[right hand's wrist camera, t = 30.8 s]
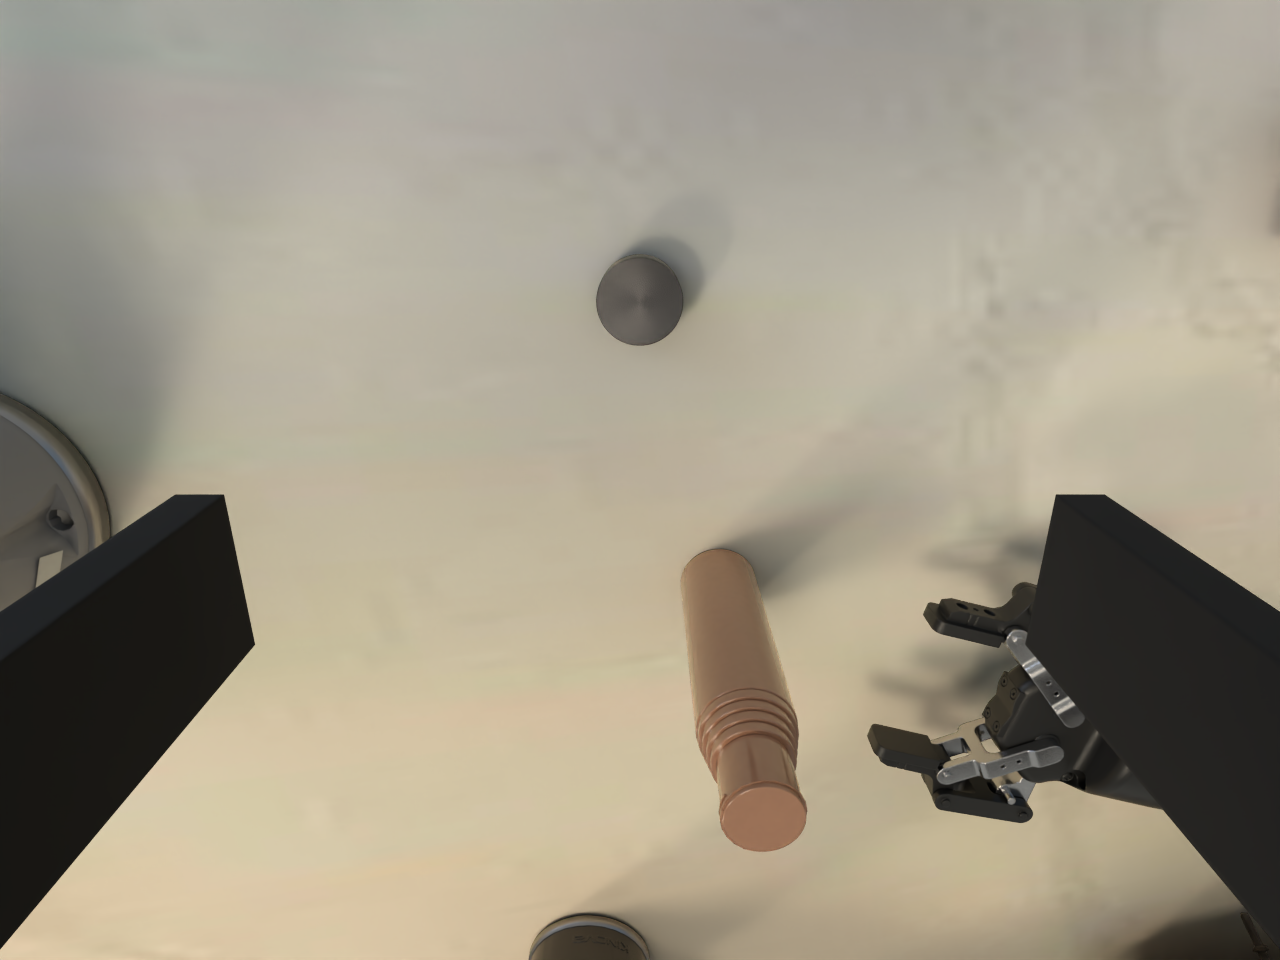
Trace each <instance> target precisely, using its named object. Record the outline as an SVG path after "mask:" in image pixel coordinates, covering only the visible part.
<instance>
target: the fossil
mask: <svg viewBox="0 0 1280 960" xmlns="http://www.w3.org/2000/svg"><path fill="white" fill-rule="evenodd" d="M1241 918H1242V920H1243V922H1244V924H1245V927H1246V929H1247V931H1248V933H1249V935H1250V937H1251V939H1252V941H1253V943H1254V945H1255V946H1254V948H1253V951H1254V952H1257V953H1258V954H1259V956H1260V958H1261V960H1269V958H1268V955H1267V953H1266V952H1267V951H1268V950H1269V949H1268V947H1267V946H1263V944H1262V941H1261V939H1260V937H1259V935H1258V933H1257V931H1256V929H1255V927H1254V925H1253V923H1252V921H1251V919H1250V917H1249V915H1248V913H1241Z"/></svg>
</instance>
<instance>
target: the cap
mask: <svg viewBox="0 0 1280 960" xmlns="http://www.w3.org/2000/svg"><path fill="white" fill-rule="evenodd" d="M596 303H597V311H598V315H599V318H600V320H601V322H602V324H603V326H604V327H605V328H606V330H607V331H608V332H609V333H610V334H611V335H612V336H613V337H615V338H616V339H618V340H620V341H622V342H624V343H627V344H631V345H638V346H639V345H649V344H653V343H655V342H658V341H660V340H661V339H663V338H665V337H666V336H667V335H668V334H669V333H670V332H671V331H672V330H673V329H674V328H675V326H676V325H677V323H678V321H679V319H680V316H681V313H682V308H683V295H682V290H681V287H680V284H679V282H678V279H677V277H676V275H675V274H674V272H673V271H672V269H671V268H670V267H669V266H668V265H667V264H666V263H664V262H663V261H661V260H660V259H658V258H656V257H653V256H650V255H644V254H635V255H629V256H626V257H624V258H622V259H620V260H618V261H616V262H615V263H614V264H613V265H611V267H610V268H609V269H608V270H607V271H606V273H605V274H604V276H603V278H602V280H601V283H600V285H599V288H598V292H597V299H596Z"/></svg>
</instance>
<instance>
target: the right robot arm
mask: <svg viewBox="0 0 1280 960" xmlns="http://www.w3.org/2000/svg"><path fill="white" fill-rule="evenodd" d="M254 645H255V642H254V637H253V632H252V628H251V623H250V618H249V613H248V608H247V603H246V599H245V594H244V589H243V584H242V579H241V574H240V570H239V565H238V560H237V555H236V550H235V545H234V541H233V536H232V531H231V526H230V521H229V516H228V512H227V507H226V502H225V497H224V495H174V496H173V497H171V498H170V499H168V500H167V501H165V502H164V503H162V504H161V505H159V506H158V507H156V508H155V509H153V510H152V511H150V512H149V513H147V514H146V515H144V516H143V517H141V518H140V519H138V520H137V521H135V522H134V523H132V524H131V525H129V526H128V527H126V528H125V529H123V530H122V531H120V532H119V533H117V534H116V535H114V536H113V537H111V538H110V524H109V515H108V510H107V506H106V502H105V499H104V496H103V493H102V491H101V488H100V486H99V484H98V481H97V479H96V478H95V476H94V474H93V472H92V470H91V469H90V467H89V466H88V464H87V463H86V461H85V459H84V458H83V457H82V455H81V454H80V453H79V452H78V450H77V449H76V448H75V447H74V446H73V444H72V443H71V442H70V441H69V440H68V439H67V438H66V437H65V436H64V435H63V434H62V433H61V432H60V431H59V430H58V429H57V428H55V427H54V426H53V425H52V424H51V423H49V422H48V421H47V420H46V419H44V418H43V417H42V416H40V415H39V414H37V413H36V412H34V411H33V410H31V409H30V408H28V407H26V406H24V405H23V404H21V403H19V402H17V401H15V400H13V399H11V398H9V397H7V396H5V395H2V394H0V949H1V948H2V947H3V945H4V944H5V943H6V942H7V941H8V939H9V938H10V937H11V936H12V935H13V933H14V932H15V931H16V930H17V929H18V927H19V926H20V925H21V924H22V923H23V922H24V920H25V919H26V918H27V917H28V916H29V914H30V913H31V912H32V911H33V910H34V908H35V907H36V906H37V905H38V904H39V902H40V901H41V900H42V899H43V898H44V896H45V895H46V894H47V893H48V892H49V890H50V889H51V888H52V887H53V886H54V884H55V883H56V882H57V881H58V880H59V878H60V877H61V876H62V875H63V874H64V872H65V871H66V870H67V869H68V868H69V866H70V865H71V864H72V863H73V862H74V861H75V859H76V858H77V857H78V856H79V855H80V853H81V852H82V851H83V850H84V849H85V847H86V846H87V845H88V844H89V843H90V841H91V840H92V839H93V838H94V837H95V835H96V834H97V833H98V832H99V831H100V829H101V828H102V827H103V826H104V825H105V823H106V822H107V821H108V820H109V819H110V817H111V816H112V815H113V814H114V813H115V811H116V810H117V809H118V808H119V807H120V805H121V804H122V803H123V802H124V801H125V800H126V798H127V797H128V796H129V795H130V794H131V792H132V791H133V790H134V789H135V788H136V786H137V785H138V784H139V783H140V782H141V780H142V779H143V778H144V777H145V776H146V774H147V773H148V772H149V771H150V770H151V768H152V767H153V766H154V765H155V764H156V762H157V761H158V760H159V759H160V758H161V756H162V755H163V754H164V753H165V752H166V750H167V749H168V748H169V747H170V746H171V744H172V743H173V742H174V741H175V740H176V739H177V737H178V736H179V735H180V734H181V733H182V731H183V730H184V729H185V728H186V727H187V725H188V724H189V723H190V722H191V721H192V719H193V718H194V717H195V716H196V715H197V713H198V712H199V711H200V710H201V709H202V707H203V706H204V705H205V704H206V703H207V701H208V700H209V699H210V698H211V697H212V695H213V694H214V693H215V692H216V691H217V689H218V688H219V687H220V686H221V685H222V683H223V682H224V681H225V680H226V679H227V678H228V676H229V675H230V674H231V673H232V672H233V670H234V669H235V668H236V667H237V666H238V664H239V663H240V662H241V661H242V660H243V658H244V657H245V656H246V655H247V654H248V652H249V651H250V650H251V649H252V648H253V646H254ZM1025 645H1026V646H1027V648H1028V649H1029V650H1030V651H1031V652H1032V654H1033V655H1034V656H1035V657H1036V658H1037V660H1038V661H1039V662H1040V663H1041V664H1042V666H1043V667H1044V668H1045V669H1046V670H1047V672H1048V673H1049V674H1050V675H1051V676H1052V678H1053V679H1054V680H1055V681H1056V682H1057V683H1058V685H1059V686H1060V687H1061V688H1062V689H1063V691H1064V692H1065V693H1066V694H1067V695H1068V697H1069V698H1070V699H1071V700H1072V701H1073V703H1074V704H1075V705H1076V706H1077V707H1078V709H1079V710H1080V711H1081V712H1082V713H1083V715H1084V716H1085V717H1086V718H1087V719H1088V721H1089V722H1090V723H1091V724H1092V725H1093V727H1094V728H1095V729H1096V730H1097V731H1098V733H1099V734H1100V735H1101V736H1102V737H1103V739H1104V740H1105V741H1106V742H1107V743H1108V744H1109V746H1110V747H1111V748H1112V749H1113V750H1114V752H1115V753H1116V754H1117V755H1118V756H1119V758H1120V759H1121V760H1122V761H1123V762H1124V764H1125V765H1126V766H1127V767H1128V768H1129V770H1130V771H1131V772H1132V773H1133V774H1134V776H1135V777H1136V778H1137V779H1138V780H1139V782H1140V783H1141V784H1142V785H1143V786H1144V788H1145V789H1146V790H1147V791H1148V792H1149V794H1150V795H1151V796H1152V797H1153V798H1154V800H1155V801H1156V802H1157V803H1158V804H1159V805H1160V807H1161V808H1162V809H1163V810H1164V811H1165V813H1166V814H1167V815H1168V816H1169V817H1170V819H1171V820H1172V821H1173V822H1174V823H1175V825H1176V826H1177V827H1178V828H1179V829H1180V831H1181V832H1182V833H1183V834H1184V835H1185V837H1186V838H1187V839H1188V840H1189V841H1190V843H1191V844H1192V845H1193V846H1194V847H1195V849H1196V850H1197V851H1198V852H1199V853H1200V855H1201V856H1202V857H1203V858H1204V859H1205V861H1206V862H1207V863H1208V864H1209V865H1210V866H1211V868H1212V869H1213V870H1214V871H1215V872H1216V874H1217V875H1218V876H1219V877H1220V878H1221V880H1222V881H1223V882H1224V883H1225V884H1226V886H1227V887H1228V888H1229V889H1230V890H1231V892H1232V893H1233V894H1234V895H1235V896H1236V898H1237V899H1238V900H1239V901H1240V902H1241V904H1242V905H1243V906H1244V907H1245V908H1246V910H1247V911H1248V912H1249V913H1250V914H1251V916H1252V917H1253V918H1254V919H1255V920H1256V922H1257V923H1258V924H1259V925H1260V926H1261V927H1262V929H1263V930H1264V931H1265V932H1266V933H1267V935H1268V936H1269V937H1270V938H1271V939H1272V941H1273V942H1274V943H1275V944H1276V945H1277V947H1278V948H1279V949H1280V612H1279V611H1278V610H1276V609H1275V608H1273V607H1272V606H1270V605H1269V604H1267V603H1266V602H1265V601H1263V600H1262V599H1260V598H1259V597H1257V596H1256V595H1254V594H1253V593H1251V592H1250V591H1248V590H1247V589H1245V588H1244V587H1242V586H1241V585H1239V584H1238V583H1236V582H1235V581H1233V580H1232V579H1230V578H1229V577H1227V576H1226V575H1224V574H1223V573H1221V572H1220V571H1218V570H1217V569H1215V568H1214V567H1212V566H1211V565H1209V564H1208V563H1206V562H1205V561H1203V560H1202V559H1200V558H1199V557H1197V556H1196V555H1194V554H1193V553H1191V552H1190V551H1188V550H1187V549H1185V548H1184V547H1182V546H1181V545H1179V544H1178V543H1176V542H1175V541H1173V540H1172V539H1170V538H1169V537H1167V536H1166V535H1164V534H1163V533H1161V532H1160V531H1158V530H1157V529H1155V528H1154V527H1152V526H1151V525H1149V524H1148V523H1146V522H1145V521H1143V520H1142V519H1140V518H1139V517H1137V516H1136V515H1134V514H1133V513H1131V512H1130V511H1128V510H1127V509H1125V508H1124V507H1122V506H1121V505H1119V504H1118V503H1116V502H1115V501H1113V500H1112V499H1110V498H1109V497H1107V496H1106V495H1056V497H1055V502H1054V507H1053V512H1052V516H1051V521H1050V526H1049V531H1048V536H1047V541H1046V545H1045V550H1044V555H1043V560H1042V565H1041V570H1040V574H1039V579H1038V584H1037V589H1036V594H1035V599H1034V603H1033V608H1032V613H1031V618H1030V623H1029V628H1028V632H1027V637H1026V642H1025Z"/></svg>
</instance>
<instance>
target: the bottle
mask: <svg viewBox="0 0 1280 960" xmlns="http://www.w3.org/2000/svg"><path fill="white" fill-rule="evenodd" d="M681 593H682V602H683V612H684V622H685V632H686V642H687V652H688V661H689V671H690V681H691V691H692V701H693V711H694V720H695V730H696V738H697V741H698V744H699V748H700V751H701V753H702V755H703V757H704V759H705V761H706V763H707V765H708V768H709V770H710V772H711V773H712V776H713V778H714V780H715V781H716V783H717V784H718V791H719V798H720V806H719V815H720V823H721V827H722V830H723V831H724V833H725V835H726V837H727V838H729V839H730V840H731V841H732V842H733V843H734V844H736V845H738V846H740V847H742V848H743V849H747V850H751V851H759V852H766V851H773V850H777V849H780V848H783V847H785V846H787V845H789V844H790V843H792V842H793V841H794V840H795V839H796V838H798V836H799V835H800V834H801V832H802V831H803V829H804V826H805V823H806V815H807V807H806V801H805V799H804V798H803V796H802V794H801V792H800V788H799V784H798V780H797V777H796V773H795V770H796V766H797V749H798V737H799V731H798V722H797V717H796V713H795V710H794V706H793V703H792V700H791V696H790V693H789V689H788V686H787V683H786V679H785V676H784V672H783V669H782V666H781V662H780V659H779V655H778V652H777V649H776V645H775V642H774V638H773V635H772V632H771V628H770V625H769V621H768V618H767V615H766V611H765V608H764V604H763V601H762V598H761V594H760V591H759V587H758V584H757V581H756V577H755V574H754V571H753V568H752V567H751V565H750V563H749V562H748V561H747V560H746V559H745V558H744V557H742V556H741V555H740V554H738V553H736V552H733V551H730V550H725V549H714V550H709V551H705V552H703V553H701V554H699V555H697V556H696V557H694V558H693V559H692V560H691V561H690V562H689V563H688V564H687V566H686V567H685V569H684V571H683V573H682V577H681Z"/></svg>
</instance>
